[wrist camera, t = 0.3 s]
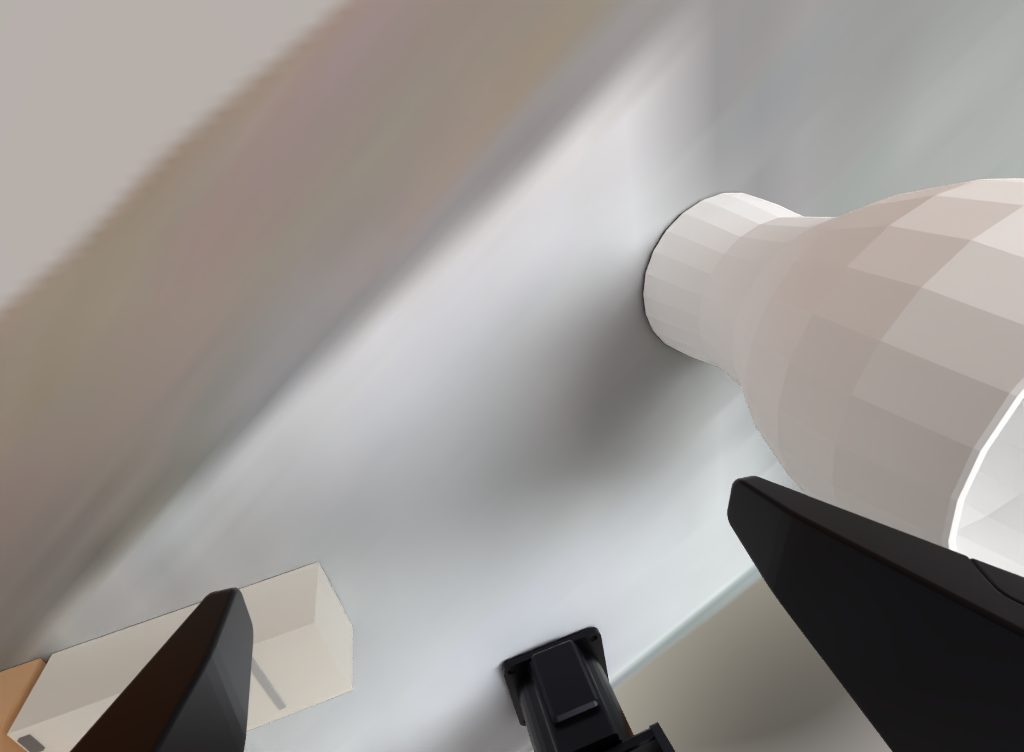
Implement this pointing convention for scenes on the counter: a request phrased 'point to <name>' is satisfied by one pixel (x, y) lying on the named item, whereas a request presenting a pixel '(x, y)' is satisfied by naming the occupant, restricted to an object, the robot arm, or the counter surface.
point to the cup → (870, 349)
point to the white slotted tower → (123, 654)
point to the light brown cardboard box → (16, 698)
